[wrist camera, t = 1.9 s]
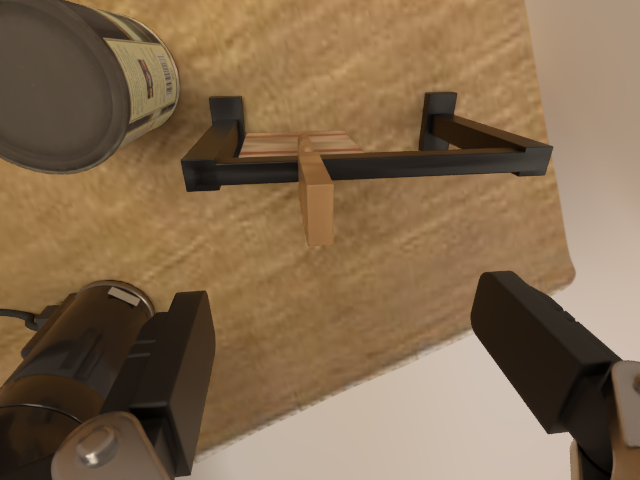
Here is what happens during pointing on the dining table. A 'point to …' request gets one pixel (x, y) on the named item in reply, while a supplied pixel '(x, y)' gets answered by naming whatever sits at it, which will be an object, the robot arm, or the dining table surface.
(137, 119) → the coffee can
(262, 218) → the dining table surface
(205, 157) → the rail
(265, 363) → the dining table surface
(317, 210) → the brown flat handled piece
